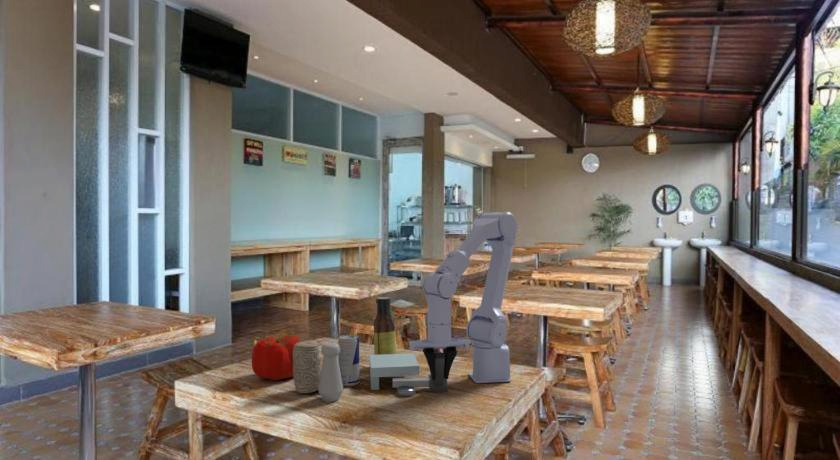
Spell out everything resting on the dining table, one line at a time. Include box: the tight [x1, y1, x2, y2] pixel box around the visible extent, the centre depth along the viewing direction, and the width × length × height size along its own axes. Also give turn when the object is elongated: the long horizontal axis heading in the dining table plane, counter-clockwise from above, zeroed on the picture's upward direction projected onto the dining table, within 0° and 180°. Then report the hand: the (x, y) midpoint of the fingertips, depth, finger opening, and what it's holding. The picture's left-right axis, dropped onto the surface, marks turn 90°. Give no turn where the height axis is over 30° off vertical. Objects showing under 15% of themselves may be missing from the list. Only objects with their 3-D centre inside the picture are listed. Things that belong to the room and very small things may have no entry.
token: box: [396, 386, 416, 398], centre depth 122 cm, size 4×4×1 cm
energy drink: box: [337, 334, 360, 387], centre depth 130 cm, size 5×5×12 cm
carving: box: [292, 340, 322, 394], centre depth 124 cm, size 6×8×12 cm
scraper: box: [392, 352, 449, 393], centre depth 123 cm, size 13×4×9 cm, turn 94°
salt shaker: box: [317, 342, 344, 403], centre depth 118 cm, size 6×6×13 cm
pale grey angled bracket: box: [369, 352, 420, 391], centre depth 131 cm, size 12×12×6 cm
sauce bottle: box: [373, 296, 397, 355], centre depth 144 cm, size 7×6×20 cm
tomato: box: [251, 334, 302, 381], centre depth 136 cm, size 14×13×10 cm
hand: (439, 378), depth 122 cm, fingers closed on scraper, 2 cm apart
